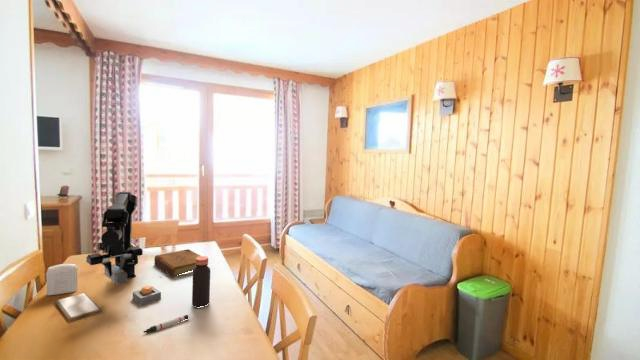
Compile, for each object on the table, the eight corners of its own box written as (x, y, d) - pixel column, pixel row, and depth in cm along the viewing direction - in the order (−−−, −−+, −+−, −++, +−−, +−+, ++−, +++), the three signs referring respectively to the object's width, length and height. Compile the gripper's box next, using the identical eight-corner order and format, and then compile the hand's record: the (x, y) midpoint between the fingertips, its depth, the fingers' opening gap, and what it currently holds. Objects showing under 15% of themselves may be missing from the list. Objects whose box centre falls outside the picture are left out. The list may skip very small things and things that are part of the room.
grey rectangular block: (114, 272, 134) (114, 264, 134) (127, 281, 126) (127, 273, 126) (104, 274, 132) (104, 266, 131) (117, 284, 123) (117, 275, 123)
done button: (149, 290, 134) (149, 285, 134) (153, 293, 132) (154, 288, 132) (139, 293, 131) (139, 288, 131) (143, 296, 129) (143, 291, 129)
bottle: (190, 309, 125) (192, 261, 124) (193, 301, 132) (194, 255, 130) (208, 308, 127) (210, 260, 126) (209, 300, 134) (211, 255, 132)
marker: (186, 318, 119) (186, 313, 119) (188, 320, 118) (188, 315, 117) (142, 333, 108) (142, 328, 108) (144, 336, 107) (144, 330, 106)
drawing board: (85, 294, 132) (85, 292, 132) (101, 311, 120) (101, 308, 120) (55, 302, 124) (55, 300, 124) (69, 321, 112) (69, 318, 112)
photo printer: (78, 288, 138) (77, 261, 137) (77, 292, 134) (76, 264, 133) (47, 292, 132) (47, 264, 131) (45, 297, 128) (45, 268, 127)
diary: (154, 266, 170) (154, 255, 169) (187, 258, 184) (188, 249, 183) (172, 278, 155) (173, 267, 154) (207, 269, 169) (208, 259, 168)
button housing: (152, 292, 137) (152, 286, 137) (160, 299, 132) (160, 292, 132) (132, 298, 131) (132, 292, 131) (140, 305, 126) (140, 298, 126)
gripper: (132, 230, 140) (132, 264, 141) (81, 238, 125) (82, 275, 126) (143, 236, 133) (142, 271, 134) (91, 244, 118) (91, 284, 119)
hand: (115, 275), depth 129 cm, fingers closed on grey rectangular block, 4 cm apart
